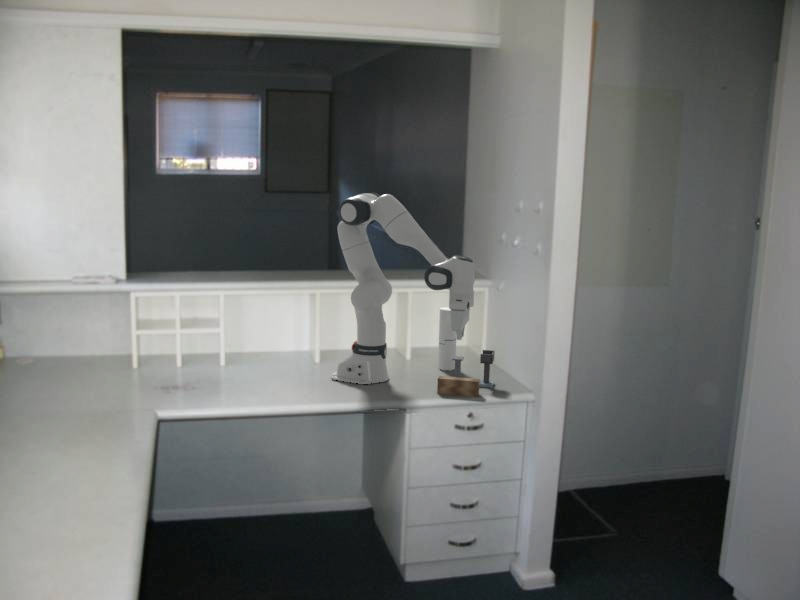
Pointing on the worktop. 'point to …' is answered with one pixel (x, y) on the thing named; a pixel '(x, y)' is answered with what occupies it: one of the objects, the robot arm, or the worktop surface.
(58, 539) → the worktop surface
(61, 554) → the worktop surface
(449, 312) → the cylindrical container
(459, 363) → the stand
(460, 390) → the rail
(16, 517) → the worktop surface
